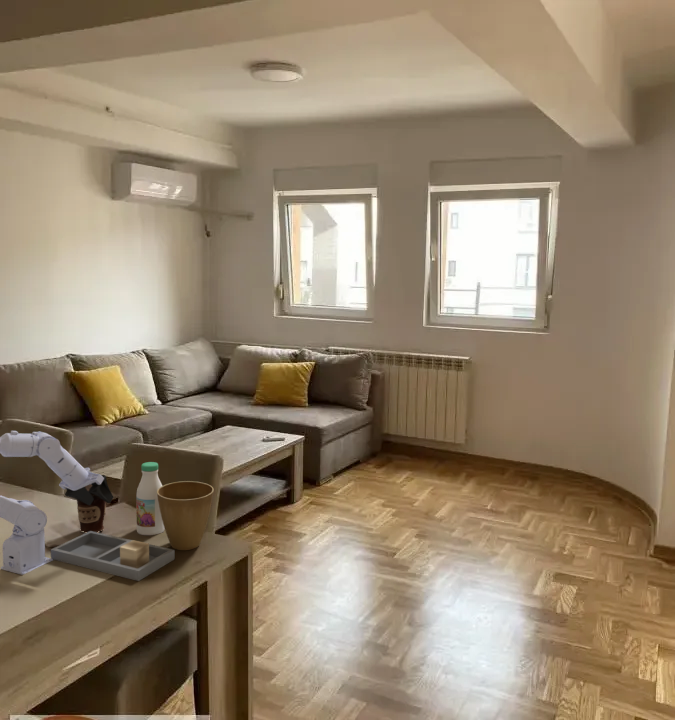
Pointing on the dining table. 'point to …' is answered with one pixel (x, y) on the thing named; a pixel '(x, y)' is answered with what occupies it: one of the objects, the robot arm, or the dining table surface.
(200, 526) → the plant pot
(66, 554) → the tray
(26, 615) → the dining table surface
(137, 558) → the maple cube
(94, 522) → the coffee cup
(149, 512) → the milk bottle
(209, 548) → the dining table surface
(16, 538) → the robot arm
